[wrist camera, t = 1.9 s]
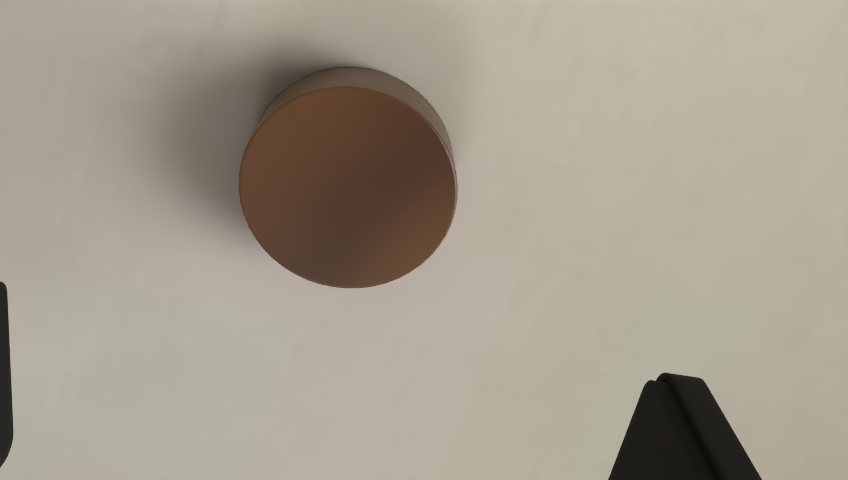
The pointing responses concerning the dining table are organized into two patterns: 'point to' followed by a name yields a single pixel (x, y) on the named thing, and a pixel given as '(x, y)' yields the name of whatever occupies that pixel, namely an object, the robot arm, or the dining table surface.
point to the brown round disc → (349, 178)
